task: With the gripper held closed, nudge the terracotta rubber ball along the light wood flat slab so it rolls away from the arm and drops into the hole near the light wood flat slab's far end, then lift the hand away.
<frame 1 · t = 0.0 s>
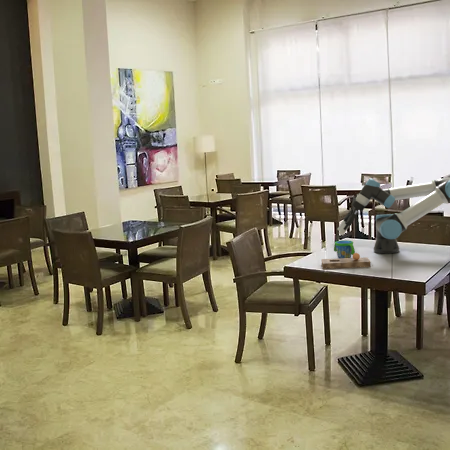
hand: (339, 232, 346), 15 cm above the table, tool tilted 35°, fingers open, 13 cm apart
ball: (356, 256, 325), point 5 cm above the table, touching light wood flat slab
snack cup: (344, 259, 345), on the table
light wood flat slab: (345, 265, 326), on the table
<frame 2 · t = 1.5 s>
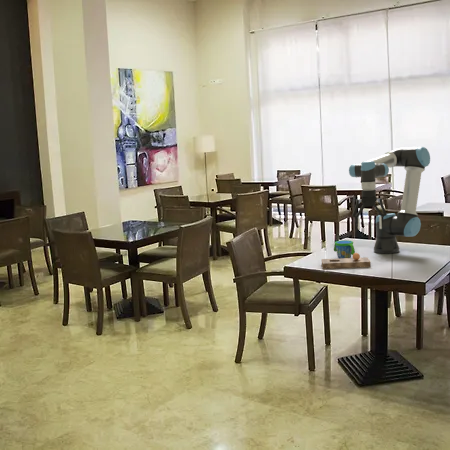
hand: (369, 229, 322), 20 cm above the table, tool pointing down, fingers open, 11 cm apart
nothing on the table moved.
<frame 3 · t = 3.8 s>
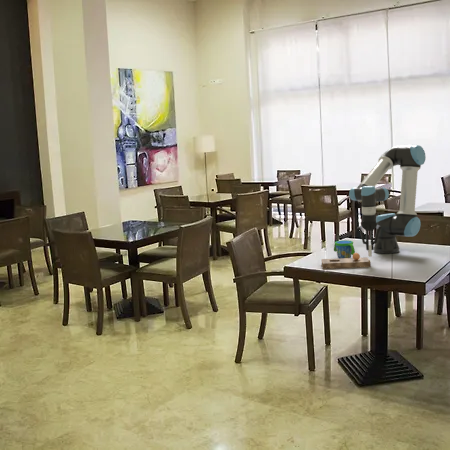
hand: (370, 256, 324), 5 cm above the table, tool pointing down, fingers closed
nothing on the table moved.
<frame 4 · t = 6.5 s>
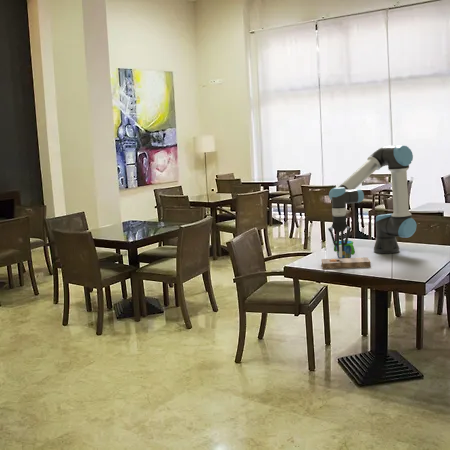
hand: (340, 257, 326), 5 cm above the table, tool pointing down, fingers closed
ball: (333, 262, 327), point 2 cm above the table, tilted 37°
everything else where it was.
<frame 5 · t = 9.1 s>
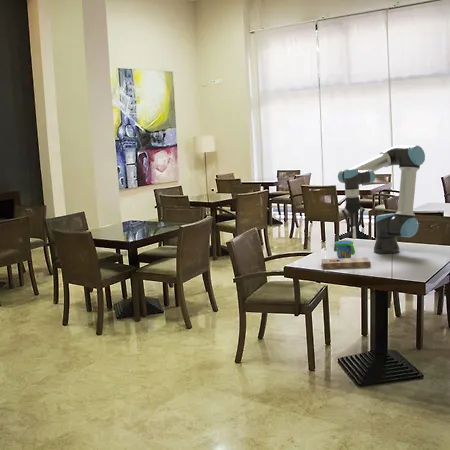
hand: (354, 238, 324), 15 cm above the table, tool pointing down, fingers closed
nothing on the table moved.
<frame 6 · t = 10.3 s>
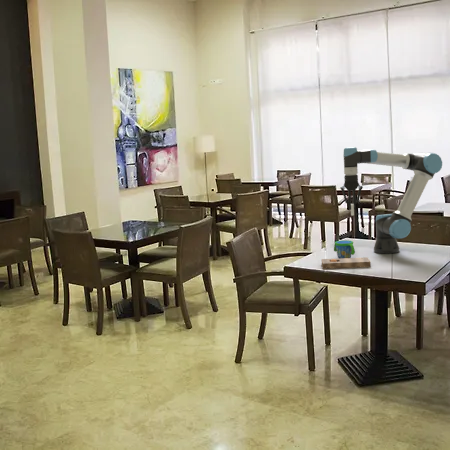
hand: (352, 215, 336), 26 cm above the table, tool pointing down, fingers closed
nothing on the table moved.
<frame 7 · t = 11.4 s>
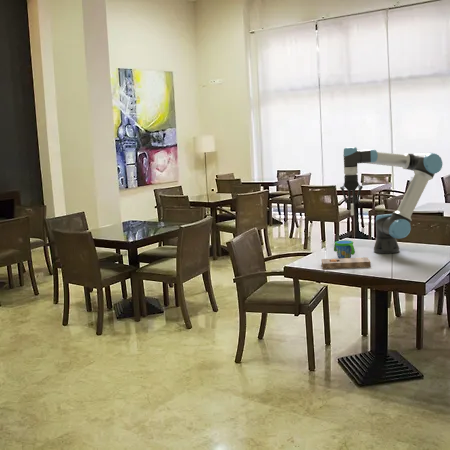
hand: (352, 215, 337), 26 cm above the table, tool pointing down, fingers closed
nothing on the table moved.
at the end: ball 0.5 cm from the target spot in the light wood flat slab, point 2.0 cm above the light wood flat slab's base; ball point 2.0 cm above the table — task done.
